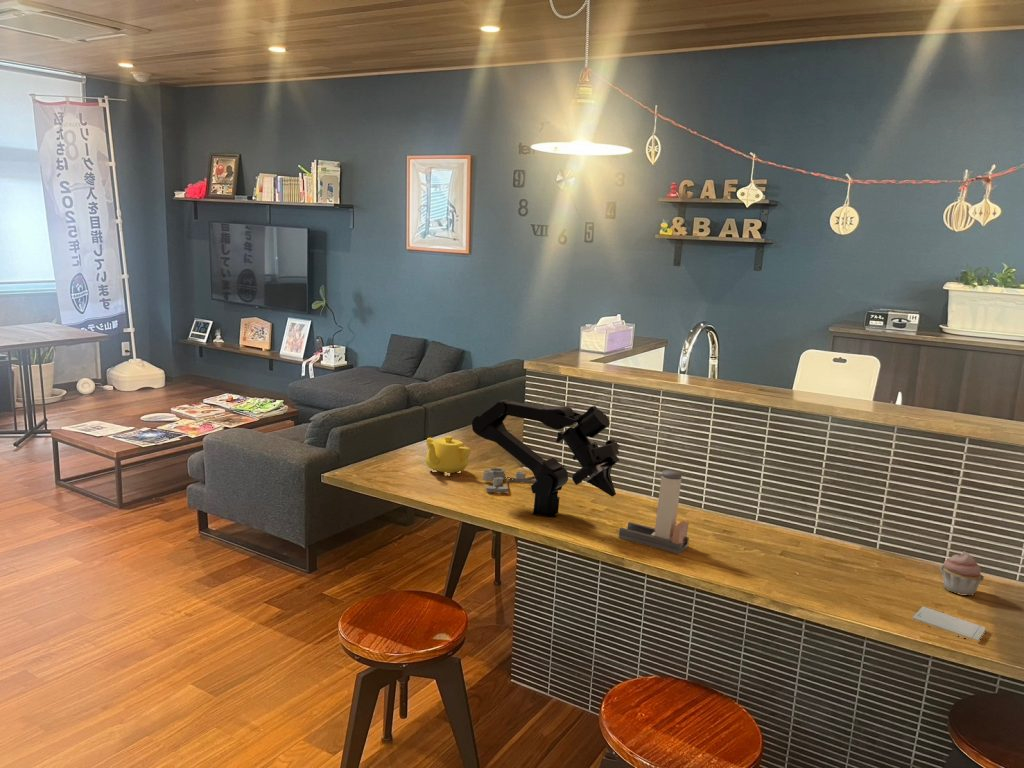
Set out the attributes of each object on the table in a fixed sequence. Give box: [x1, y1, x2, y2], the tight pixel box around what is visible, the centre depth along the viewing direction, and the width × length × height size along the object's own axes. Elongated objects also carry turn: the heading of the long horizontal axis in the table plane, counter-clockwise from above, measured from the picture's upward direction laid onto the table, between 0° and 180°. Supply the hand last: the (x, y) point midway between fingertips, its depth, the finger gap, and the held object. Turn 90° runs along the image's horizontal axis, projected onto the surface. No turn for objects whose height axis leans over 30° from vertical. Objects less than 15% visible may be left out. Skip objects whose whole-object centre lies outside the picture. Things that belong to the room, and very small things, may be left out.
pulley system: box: [482, 467, 537, 493], centre depth 237 cm, size 27×5×15 cm
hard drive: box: [912, 606, 988, 641], centre depth 160 cm, size 2×8×12 cm
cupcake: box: [939, 550, 985, 595], centre depth 179 cm, size 9×9×10 cm
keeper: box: [651, 469, 682, 541], centre depth 192 cm, size 6×5×18 cm
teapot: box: [425, 435, 471, 474], centre depth 243 cm, size 14×14×12 cm
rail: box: [617, 520, 690, 555], centre depth 195 cm, size 16×7×6 cm, turn 59°
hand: (614, 495), depth 200 cm, fingers closed
